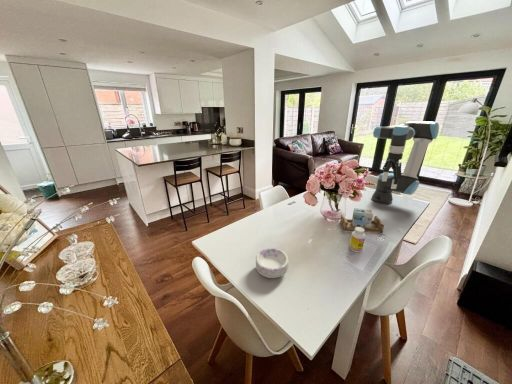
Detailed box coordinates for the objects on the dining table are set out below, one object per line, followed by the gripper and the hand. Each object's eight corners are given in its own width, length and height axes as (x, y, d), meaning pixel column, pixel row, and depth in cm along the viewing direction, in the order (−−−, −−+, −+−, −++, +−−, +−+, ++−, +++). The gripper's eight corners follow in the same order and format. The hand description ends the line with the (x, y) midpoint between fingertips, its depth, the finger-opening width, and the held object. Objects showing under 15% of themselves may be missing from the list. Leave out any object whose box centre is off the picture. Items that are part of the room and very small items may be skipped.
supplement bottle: (356, 254, 111) (360, 233, 106) (346, 247, 117) (350, 227, 112) (365, 250, 114) (369, 230, 109) (354, 244, 119) (358, 224, 115)
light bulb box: (352, 227, 135) (354, 212, 131) (351, 222, 141) (353, 207, 137) (370, 229, 131) (373, 214, 127) (368, 224, 137) (371, 209, 133)
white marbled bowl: (264, 287, 91) (264, 273, 88) (251, 265, 104) (250, 252, 101) (294, 277, 97) (295, 263, 94) (277, 257, 110) (278, 244, 107)
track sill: (340, 221, 143) (341, 214, 141) (374, 223, 140) (376, 215, 138) (344, 231, 132) (346, 222, 130) (382, 233, 130) (384, 224, 127)
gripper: (380, 148, 140) (375, 178, 148) (399, 157, 117) (391, 192, 125) (393, 148, 138) (386, 178, 147) (413, 157, 116) (404, 192, 124)
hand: (388, 184), depth 136 cm, fingers open, 13 cm apart
